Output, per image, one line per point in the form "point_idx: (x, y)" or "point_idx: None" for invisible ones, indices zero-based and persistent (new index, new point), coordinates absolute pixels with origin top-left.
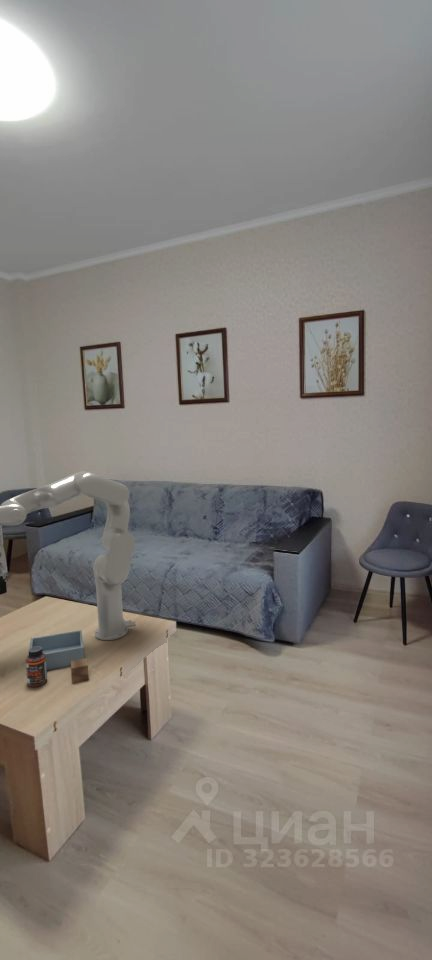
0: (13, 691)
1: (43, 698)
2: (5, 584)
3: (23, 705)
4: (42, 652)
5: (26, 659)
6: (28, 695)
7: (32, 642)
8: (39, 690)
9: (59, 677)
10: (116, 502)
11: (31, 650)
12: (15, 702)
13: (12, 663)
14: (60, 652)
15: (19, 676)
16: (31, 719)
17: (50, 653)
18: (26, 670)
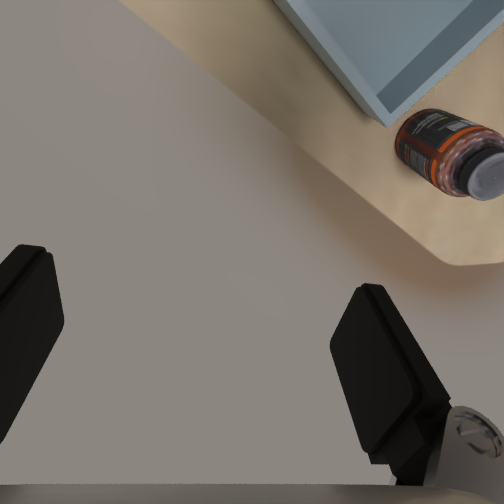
0: (381, 196)
1: None
2: (419, 361)
3: (445, 220)
4: (502, 147)
5: (450, 195)
6: (433, 190)
7: (312, 13)
8: None
9: (479, 81)
10: None
11: (486, 193)
12: (418, 221)
13: (252, 90)
14: (499, 23)
15: (343, 138)
16: (491, 241)
17: (462, 59)
18: (422, 176)
